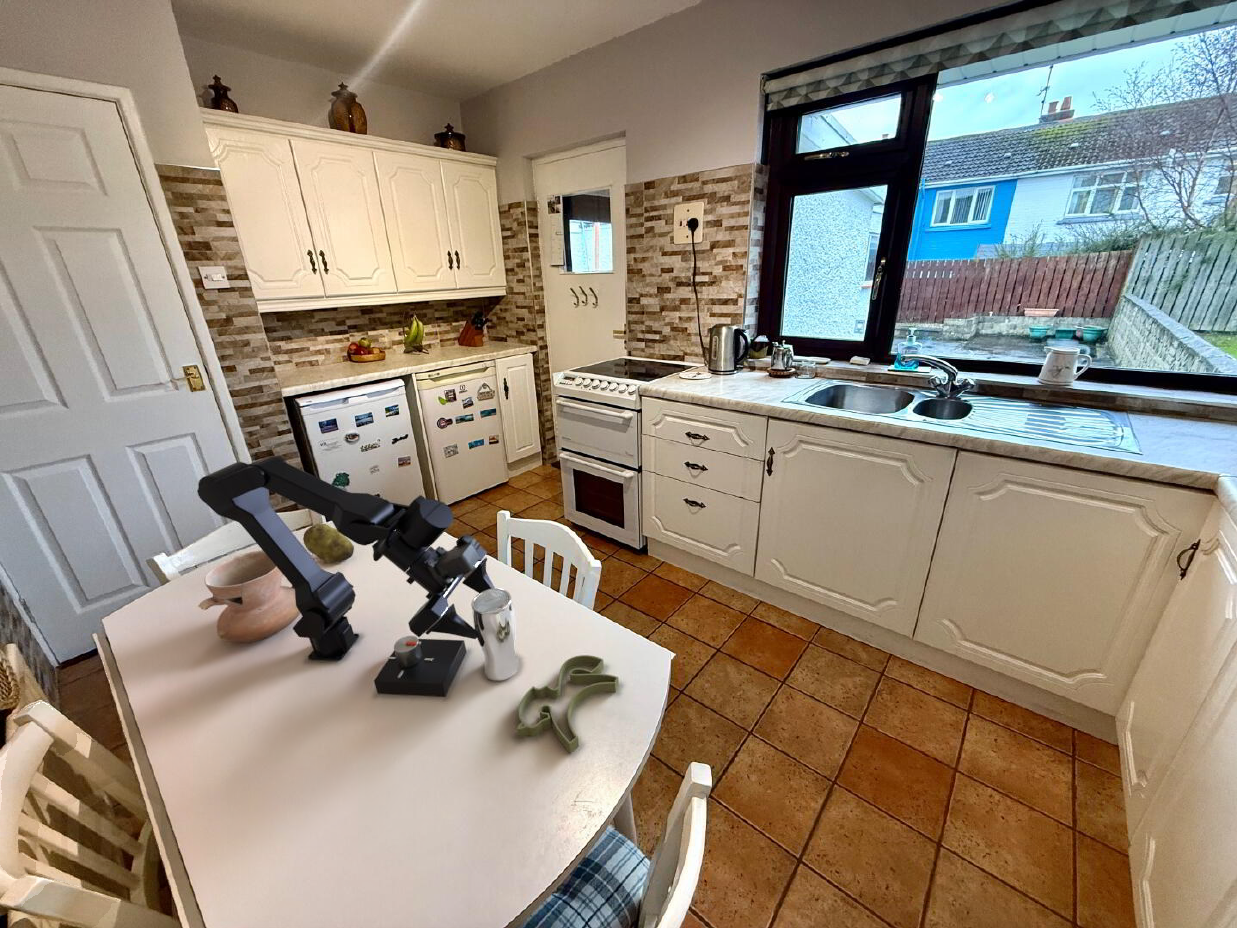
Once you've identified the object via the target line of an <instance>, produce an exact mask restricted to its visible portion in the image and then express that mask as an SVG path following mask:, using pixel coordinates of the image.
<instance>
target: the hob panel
mask: <svg viewBox="0 0 1237 928" xmlns="http://www.w3.org/2000/svg"><path fill="white" fill-rule="evenodd" d="M418 640H419V645H420V649H421V653H422V658H421V660H420V661H419V662H418V663H417V664H415V665H414V666H411V667H407V668H404V667H400V666H399V665H398V662H397V658H396V654H395V651H394V650H393V651H392V653H391V654H390V656H388V657H387V660H386V662H385V663H384V665H383V666H382V667H381V669H380V670H379V672H378V674H377V675H376V676H375V679H374V680H373V683H374V688H375V689H376V690H375V691H376V693H377V695H394V696H395V695H396V696H419V697H439V698H440V697H442V698H446V697H447V694H448V692H449V690H450V688H451V686H452V684H453V682H454V680H455V678H456V675H457V673H458V672H459V669H460V667H461V666H462V663H463V662H464V659H465V657H466V655H467V647H466V643H465V640H464V639H436V638H435V639H434V638H418Z"/></svg>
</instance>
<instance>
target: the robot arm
mask: <svg viewBox="0 0 1237 928" xmlns="http://www.w3.org/2000/svg"><path fill="white" fill-rule="evenodd" d="M197 486H198V487H197V490H196V492H197V496H198V497H199V499H200V500H201V501H202V502H203V503H204V504H206V505H207V506H208V507H209V508H210V509H211V510H212V511H213V512H214V513H215V514H217V516H220V517H223V518H225V519H228V520H231V521H234V522H236V523H239V525H241V526H242V527H243V529H244V530H245V531H246V532H247V534H249V536H250V537H251V539H253V540H254V542H255V543H256V544H257V545H258V546H259V548H260V550H263V551H264V552H265V553H266V555H267V556H268V557H269V558H270V559H271V561H272V562H273V563H274V564H275V565H276V567H277V568H278V569H279V570H280V571H281V572H282V574H283V576H284V577H285V579H286V580H287V581H288V582H289V583H290V584H291V587H292V586H293V587H294V588H295V599H296V607H297V608H298V610H299V611H300V614H301V616H302V617H301V618H300V619H299V620H298V621H297V622H296V623H295V625H294V626H293V627H292V630H293V631H294V632H295V634H296V636H298V637H299V638H306V639H309V642H310V645H311V647H312V651H311V652H310V653H309V654H308V655H307V658H308V659H309V660H315V661H337V662H339V661H341V660H342V659H344V658H345V656H346V654H348V652H349V651H350V649H351V648H352V647H353V645H354V644H355V643H356V642H357V641H358V639H359V638H360V634H359V633H354V630H353V626H352V624H350V622H349V619H348V616H347V615H346V614H347V613H349V611H351V610H352V608H353V605H354V603H355V602H356V601H355V600H356V597H357V594H356V592H355V590H354V589H353V588H355V587H354V585H352V583H350V581H348V579H347V578H346V576H345V575H344V573H342V572H341V571H336V573H333V572H330V571H327V570H324V569H323V568H322V567H320V565H319V563H318V562H317V561H316V560H315V559H314V558H313V557H312V555H311V554H310V553H309V551H308V549H307V548H306V547H305V546H304V545H303V544H302V542H301V541H300V540H299V539H298V538H297V537H296V535H295V534H294V533H293V531H292V530H290V528H289V526H287V524H286V523H285V521H283V519H282V517H280V515H279V514H277V513H278V512H276V511H275V509H274V508H273V507H272V506H271V498H270V492H272V493H274V494H276V495H278V496H280V497H283V498H284V499H287V500H289V501H291V502H293V503H295V504H297V505H300V506H301V507H304V508H306V509H307V510H309V511H312V512H314V513H316V514H319V515H320V516H323V517H325V518H326V519H329V520H330V521H331V522H332V524H333V526H334V527H335V529H337V531H338V532H339V533H341V534H343V535H344V536H345V537H346V538H347V539H348V540H349V541H352V542H353V543H356V544H357V545H360V546H368V545H371V547H372V550H373V554H372V557H373V561H374V562H378V561H379V560H380V559H381V558H382V557H384V558H386V559H387V560H389V561H390V563H392V564H393V565H394V566H396V567H397V568H398V569H399V570H400V571H402V572H403V573H404V574H406V575H407V576H408V577H407V579H406V580H405V582H406V583H408V584H409V585H410V586H412V584H413V583H416V584H418V585H419V586H420V587H421V588H423V590H425V591H426V592H427V594H426V595H425V598H426V599H427V600H426V602H425V603H424V604H423V605H422V606H421V607H420V608H418V610H417V611H416V613H414V614H413V616H412V617H411V619H410V620H409V621H408V623H407V624H408V628H409V631H410V632H411V633H413V634H414V636H415V637H417V638H420V637H422V636H423V635H424V634H425V635H427V636H428V635H430V634H431V633H439V634H448V635H453V636H458V637H462V638H467V639H472V640H477V638H478V637H479V634H478V632H477V631H476V630H475V629H474V626H472V625H470V624H469V622H467V621H466V620H465V619H463V617H461V616H460V615H459V614H458V613H457V610H456V607H455V604H454V603H452V604H451V605H450V606H449V603H448V599H449V598H450V596H451V594H452V593H453V592H454V591H455V590H456V588H457V586H458V585H459V584H460V583H461V584H463V585H465V586H466V587H468V588H469V589H471V590H473V591H474V592H476V593H478V594H479V593H481V592H483V591H485V590H489V589H495V588H496V587H495V586H494V584H493V582H492V581H491V578H490V576H489V575H488V572H487V562H488V558H487V557H485V556H486V555H487V554H488V551H487V550H486V549H484V547H482V546H481V545H480V542H479V541H477V540H476V539H475V538H474V537H473V536H471V535H470V534H468V533H465V534H461V535H460V536H459V537H458V538H457V540H456V541H455V543H456V544H455V545H454V546H453V548H451V549H449V550H447V549H446V548H444V547H443V546H437V548H433V546H432V545H433V544H434V543H435V542H436V541H437V540H438V539H439V538H440V537H441V536H442V535H443V534H444V533H445V532H446V531H447V530H448V529H449V528H450V526H452V525H453V523H454V518H455V517H454V513H453V511H452V509H451V508H450V506H448V504H446V503H445V502H444V501H440V500H439V499H435V498H426V497H425V496H423V495H422V494H419V495H418V496H417V497H415V498H414V499H413V500H412V502H411V503H410V504H409V505H407V504H402V503H397V502H396V503H395V502H392V501H389V500H388V499H385V498H383V497H380V496H378V495H373V494H370V493H367V492H350V491H347V490H344V489H342V488H340V487H337V486H335V485H334V484H331V483H330V482H328V481H325V480H323V479H321V478H320V477H317V476H314V475H313V474H311V473H308V472H306V471H305V470H302V469H301V468H298V467H296V466H294V465H292V464H290V463H288V462H287V460H285V459H284V458H283V457H281V456H279V455H269V456H267V457H264V458H263V459H260V460H259V459H258V460H257V461H254V462H251V463H247V462H244V461H237V462H234V463H231V464H229V465H227V466H225V467H223V468H221V469H217V470H216V471H213V472H212V473H209V474H207V475H204V476H202V477H201V478H200V479H199V480H198V485H197ZM463 578H464V579H463ZM461 581H462V582H461Z"/></svg>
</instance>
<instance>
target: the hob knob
mask: <svg viewBox="0 0 1237 928" xmlns="http://www.w3.org/2000/svg"><path fill="white" fill-rule="evenodd" d="M418 639H419V637H418V636H416V635H405V636H402V637H401V638H399V639H398V640H396V642H395V643H394V644H393V651H395V654H396V658H397V662H398V665H399V666H400V667H404V668H407V667H411V666H414V665H415V664H417V663H418V662H419V661H420V660H421V658H422V653H421V649H420V645H419V640H418Z"/></svg>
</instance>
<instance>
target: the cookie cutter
mask: <svg viewBox="0 0 1237 928" xmlns="http://www.w3.org/2000/svg"><path fill="white" fill-rule="evenodd" d="M604 665H605V664H604V659H603V658H602V657H598V656H594V655H589V654H581V655H575V656H571V657H569V658H568V659H567V660H565V661H564V662H563V664H562V665H561V667H560V669H559V673H558V684H557V687H556V688H552V687H551V686H549V685H548V684H547V685H544V686H542V687H541V688H539V687H535V686H533V685H532V686H531V688H530V689H529V690H527V692H526V693H525V694H524V695H523V697H522V698H521V701H520V702H519V706H518V719H519V724H518V726H517V735H518V739H523V738H527V737H531V738H535V737H538V736H539V735H541V733H543V731H546V730H548V729H550V728H553V731H554V733H555V735H556V737H557V738H558V740H559V741H560V742H561V744H562V745H563V747H564V748H565V749H566V750H567V751H568V752H569V754H572V753H573V752H574V751H575V750H577V749H578V748H579V747H580V745H579V744H580V743H579V736H578V735H577V734H576V732H575V730H574V728H573V726H572V723H571V717H572V713H573V711H574V709H575V708H576V707H577V705H578V704H579V703H580V702H581V701H583V700H585V699H586V698H588V697H590V696H593V695H597V694H601V693H603V694H604V693H616V692H617V690H618V689H619V687H620V684H619V676H616V675H614V674H613V675H612V674H608V673H607V674H605V673H602V672H603V670H604ZM578 666H593V667H594V668H593V669H592V670H590V669H586V668H583V667H578ZM574 667H576V668H574ZM572 668H573V669H572ZM569 670H570V671H569ZM568 671H569V679H570V680H569V681H570V684H573V685H585V684H586V685H587V684H588V686H585V687H583V688H581V689H579V691H578V692H576V693H575V694H574V695H573V697H572V698H571V700H570V701H569V703H568V706H567V723H568V731H569V735H570V738H571V741H570V740H569V739H568V737H566V736H565V734H564V733H563V732H562V730H561V728H559V726H558V723H557V722H556V720H555V718H554V715H553V710H552V706H551V705H549V704H543V705H540V707H539V709H538V712H539V718H540V719H539V722H537V723H536V724H535V725H533V726H532V725H529V724H525V721H524V719H523V714H524V711H525V709H526V707H527V706H528V705H529V703H530V702H531V701H532V700H533V699H534V698H535V699H544V698H546V697H547V696H548V697H549V698H551V699H553V700H557V699H559V698H560V696H561V693H562V683H563V680H564V679H563V678H564V676H565V674H566V673H567V672H568Z"/></svg>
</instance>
